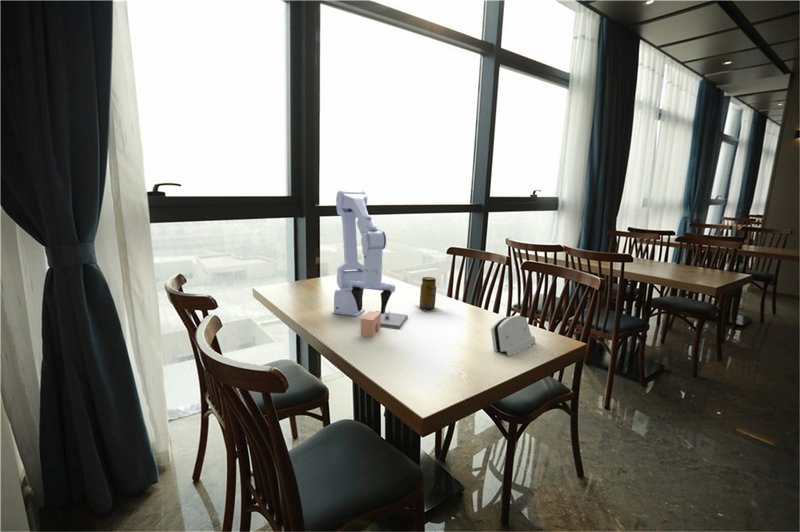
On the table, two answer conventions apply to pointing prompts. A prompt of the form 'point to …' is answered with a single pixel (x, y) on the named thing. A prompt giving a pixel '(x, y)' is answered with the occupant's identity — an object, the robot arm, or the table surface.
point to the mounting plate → (393, 320)
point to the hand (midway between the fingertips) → (371, 311)
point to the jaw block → (370, 323)
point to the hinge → (511, 334)
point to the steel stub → (387, 314)
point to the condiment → (428, 295)
